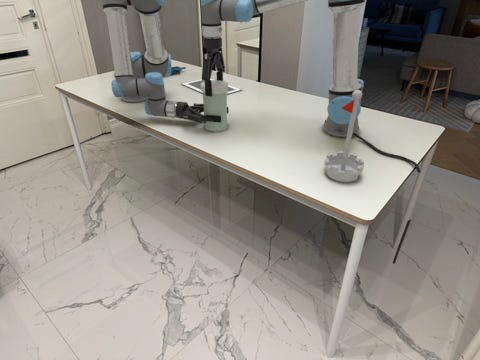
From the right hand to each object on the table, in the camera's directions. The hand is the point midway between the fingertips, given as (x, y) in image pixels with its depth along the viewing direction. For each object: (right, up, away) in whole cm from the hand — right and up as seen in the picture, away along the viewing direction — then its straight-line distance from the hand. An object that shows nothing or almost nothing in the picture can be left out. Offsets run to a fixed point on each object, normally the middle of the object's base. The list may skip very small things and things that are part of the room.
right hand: (214, 91), depth 145 cm
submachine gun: (-43, +33, +80) cm, 97 cm away
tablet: (-6, +17, +56) cm, 59 cm away
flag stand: (+47, -36, -25) cm, 64 cm away
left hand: (+4, -9, +5) cm, 11 cm away
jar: (0, -14, +9) cm, 16 cm away
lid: (0, +2, -1) cm, 3 cm away
